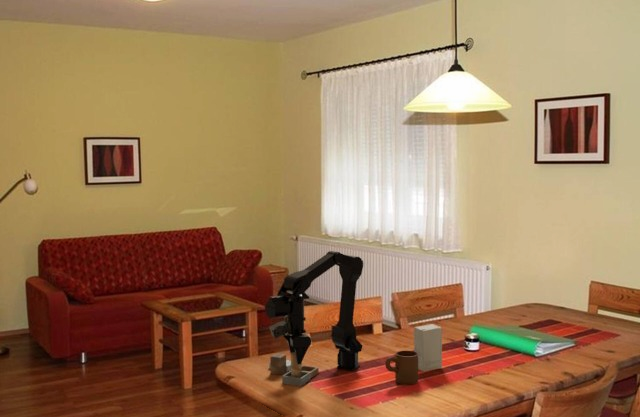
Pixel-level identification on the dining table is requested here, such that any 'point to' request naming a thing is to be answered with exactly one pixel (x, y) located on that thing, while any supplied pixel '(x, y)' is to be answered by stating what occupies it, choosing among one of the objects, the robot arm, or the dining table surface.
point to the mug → (404, 367)
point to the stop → (278, 364)
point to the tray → (296, 379)
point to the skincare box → (428, 346)
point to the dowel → (295, 367)
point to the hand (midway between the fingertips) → (295, 360)
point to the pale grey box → (288, 365)
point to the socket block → (311, 370)
